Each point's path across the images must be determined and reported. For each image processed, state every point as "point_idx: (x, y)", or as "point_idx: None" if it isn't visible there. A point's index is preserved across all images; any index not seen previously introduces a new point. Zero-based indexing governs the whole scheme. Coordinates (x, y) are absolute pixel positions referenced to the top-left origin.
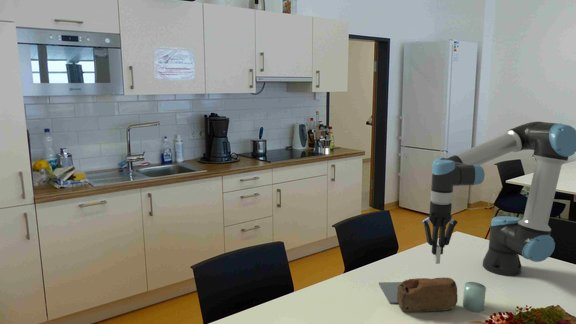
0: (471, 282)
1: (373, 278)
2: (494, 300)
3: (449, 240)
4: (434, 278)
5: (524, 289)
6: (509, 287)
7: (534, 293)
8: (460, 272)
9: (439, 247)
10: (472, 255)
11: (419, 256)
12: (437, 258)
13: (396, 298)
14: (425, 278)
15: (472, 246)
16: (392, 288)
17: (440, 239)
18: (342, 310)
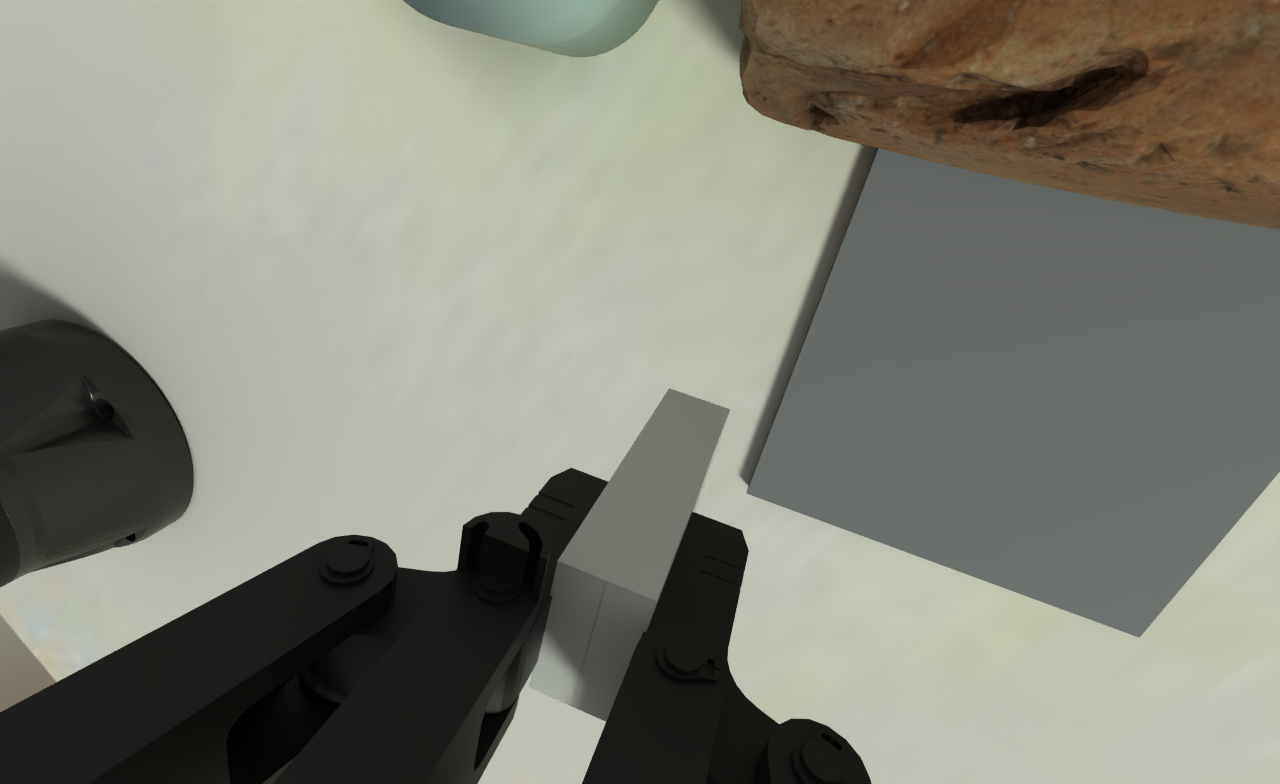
0: (446, 2)
1: (1090, 709)
2: (337, 20)
3: (215, 611)
4: (1080, 35)
5: (67, 125)
6: (148, 187)
7: (25, 46)
8: (361, 492)
9: (599, 572)
10: None
11: (498, 756)
12: (692, 444)
13: (1269, 321)
14: (1265, 88)
15: None
16: (1109, 502)
17: (446, 780)
18: None
